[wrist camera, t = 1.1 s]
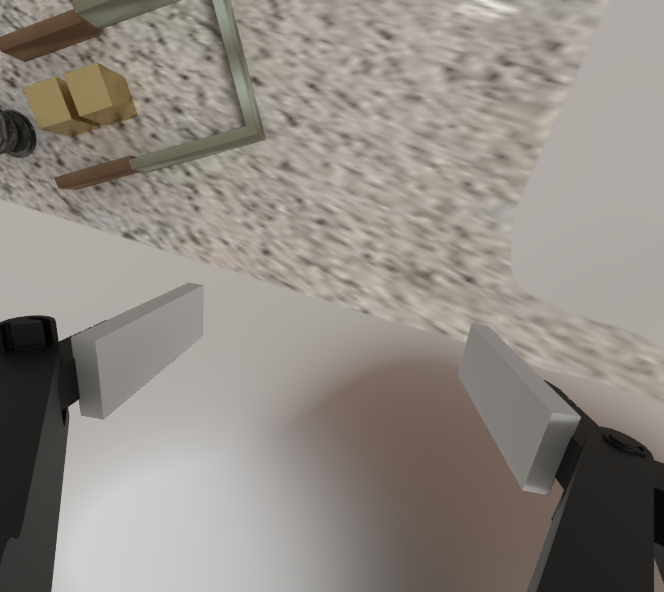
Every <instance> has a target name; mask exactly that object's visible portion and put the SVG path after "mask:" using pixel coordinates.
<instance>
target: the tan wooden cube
mask: <svg viewBox="0 0 664 592" xmlns="http://www.w3.org/2000/svg"><path fill="white" fill-rule="evenodd" d="M23 89H24V92H25V94H26V97H27V99H28V101H29V104H30V106H31V109H32V111H33V113H34V116H35V118H36V121H37V123H38V125H39V128H40V129H42V130H46V131H50V132H54V133H58V134H63V135H67V136H71V137H73V136H76V135H79V134H82V133H86V132H89V131H92V130H95V129H99V128H101V127H100V124H99V122H96V121H92V120H89V119H86V118H83V117H80V116H79V113H78V111H77V108H76V105H75V103H74V100H73V98H72V95H71V92H70V90H69V87H68V85H67V82H66V81H63V80H61V79H59V78H56V77H54V78H51V79H48V80H45V81H42V82H39V83H36V84H33V85H31V86H28V87H25V88H23Z"/></svg>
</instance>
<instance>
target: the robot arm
mask: <svg viewBox="0 0 664 592" xmlns="http://www.w3.org/2000/svg"><path fill="white" fill-rule="evenodd" d="M202 336H203V285H199V284H192V283H187V284H185V285H183V286H181V287H178V288H176V289H174V290H172V291H170V292H168V293H166V294H163V295H161V296H159V297H157V298H155V299H153V300H150V301H148V302H146V303H144V304H141V305H139V306H137V307H135V308H133V309H131V310H128V311H126V312H124V313H122V314H120V315H118V316H115V317H113V318H111V319H109V320H105V321H103V322H101V323H99V324H97V325H95V326H94V327H90V328H88V329H86V330H84V331H81V332H79V333H77V334H75V335H73V336H70V337H68V338H66V339H64V340H62V341H58V334H57V328H56V321H55V319H54V318H52V317H49V316H24V317H17V318H13V319H8V320H5V321H3V322H0V592H51V589H52V579H53V569H54V560H55V550H56V541H57V530H58V521H59V511H60V502H61V492H62V482H63V472H64V464H65V454H66V445H67V435H68V425H69V411H68V406H70V405H71V404H73V403H74V402H76V401H77V400H79V404H80V412H81V416H87V417H93V418H99V419H105V418H106V417H107V416H108V415H109V414H111V413H112V412H113V411H114V410H115V409H116V408H118V407H119V406H120V405H121V404H122V403H124V402H125V401H126V400H127V399H128V398H130V397H131V396H132V395H133V394H134V393H136V392H137V391H138V390H139V389H140V388H141V387H143V386H144V385H145V384H146V383H148V382H149V381H150V380H151V379H152V378H154V377H155V376H156V375H157V374H158V373H160V372H161V371H162V370H163V369H164V368H165V367H167V366H168V365H169V364H170V363H171V362H173V361H174V360H175V359H176V358H177V357H179V356H180V355H181V354H182V353H183V352H185V351H186V350H187V349H188V348H189V347H190V346H192V345H193V344H194V343H195V342H197V341H198V340H199V339H200V338H201V337H202ZM458 376H459V378H460V379H461V381H462V383H463V385H464V387H465V388H466V390H467V392H468V394H469V395H470V397H471V399H472V401H473V402H474V404H475V406H476V408H477V410H478V412H479V413H480V415H481V417H482V419H483V420H484V422H485V424H486V426H487V428H488V429H489V431H490V433H491V435H492V437H493V438H494V440H495V442H496V444H497V445H498V447H499V449H500V451H501V453H502V455H503V456H504V458H505V460H506V462H507V464H508V465H509V467H510V469H511V471H512V473H513V474H514V476H515V478H516V480H517V481H518V483H519V485H520V487H521V489H522V490H524V491H529V492H536V493H542V494H547V495H548V494H549V493H550V490H551V488H552V486H553V483H554V481H555V479H557V480H558V482H559V483H560V485H561V486H562V487H563V489H564V492H563V494H562V497H561V499H560V501H559V503H558V506H557V508H556V510H555V513H554V515H553V517H552V524H551V526H550V529H549V532H548V535H547V538H546V540H545V543H544V546H543V548H542V551H541V554H540V557H539V559H538V562H537V565H536V568H535V571H534V573H533V576H532V579H531V582H530V584H529V587H528V590H527V592H654V558H655V561H656V563H657V566H658V569H659V572H660V574H661V577H662V580H663V582H664V463H661V462H658V461H655V460H654V458H653V456H652V453H651V452H650V451H649V450H648V449H647V448H646V447H645V446H644V445H642V444H641V443H639V442H638V441H636V440H635V439H633V438H631V437H629V436H627V435H625V434H623V433H621V432H618V431H616V430H613V429H610V428H606V427H599V426H598V425H597V424H596V423H595V422H594V421H593V420H592V419H591V418H589V416H587V415H586V414H585V413H584V412H583V411H582V410H581V409H580V408H579V407H577V405H576V404H575V403H574V402H573V401H572V400H570V399H569V398H568V397H567V396H566V395H565V394H564V393H563V392H562V391H561V390H560V389H559V388H557V387H555V386H554V385H552V384H550V383H549V382H547V381H546V380H543V379H542V378H541V377H540V376H539V375H538V374H537V373H536V372H534V371H533V369H531V368H530V367H529V366H528V365H527V364H526V363H525V362H524V361H523V360H522V359H521V358H520V357H519V356H518V355H517V354H516V353H515V352H514V351H513V350H512V349H511V348H510V347H509V346H508V345H507V344H506V343H505V342H504V341H503V340H502V339H501V338H500V337H499V336H498V335H497V334H496V333H495V332H494V331H493V330H491V329H490V328H489V327H488V326H484V325H477V324H471V328H470V332H469V335H468V339H467V343H466V346H465V350H464V354H463V358H462V361H461V365H460V369H459V372H458Z"/></svg>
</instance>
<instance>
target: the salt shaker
mask: <svg viewBox="0 0 664 592" xmlns="http://www.w3.org/2000/svg"><path fill="white" fill-rule="evenodd" d="M35 146H36V135H35V131H34V128H33V126H32V124H31V123H30V121H29V120H28V119H27V118H26V117H25V116H24V115H23V114H21V113H20V112H17V111H14V110H4V111H2V110H1V109H0V154H2V153H8V154H10V155H11V156H14V157H18V158H24V157H27V156H29V155H30V154H31V153H32V152H33V151H34V149H35Z"/></svg>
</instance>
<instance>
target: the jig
mask: <svg viewBox="0 0 664 592" xmlns="http://www.w3.org/2000/svg"><path fill="white" fill-rule="evenodd" d="M177 1H179V0H74V1H71V3H72V5H73V8H74V9H73V10H70V11H68V12H65V13H62V14H60V15H57V16H54V17H52V18H49V19H46V20H44V21H41V22H38V23H36V24H33V25H30V26H28V27H25V28H22V29H20V30H17V31H14V32H12V33H9V34H6V35H4V36H1V37H0V50H1V52H4V53H6V54H8V55H11V56H13V57H15V58H17V59H20V60H22V61H24V62H26V61H29V60H31V59H34V58H37V57H40V56H43V55H45V54H48V53H51V52H54V51H57V50H59V49H62V48H65V47H68V46H71V45H73V44H76V43H79V42H82V41H85V40H87V39H90V38H93V37H96V36H99V35H101V33H100V30H99V29H102V28H105V27H107V26H110V25H113V24H116V23H118V22H121V21H124V20H127V19H130V18H132V17H135V16H138V15H141V14H143V13H146V12H149V11H152V10H154V9H157V8H160V7H163V6H166V5H168V4H171V3H174V2H177ZM212 1H213V5H214V8H215V12H216V16H217V19H218V23H219V27H220V31H221V34H222V38H223V42H224V46H225V49H226V53H227V57H228V61H229V64H230V68H231V72H232V75H233V79H234V83H235V87H236V90H237V94H238V98H239V102H240V105H241V109H242V113H243V117H244V120H245V124H246V126H245V127H241V128H238V129H234V130H231V131H227V132H224V133H220V134H217V135H213V136H210V137H206V138H203V139H199V140H196V141H193V142H189V143H186V144H182V145H179V146H175V147H172V148H168V149H165V150H161V151H158V152H154V153H151V154H147V155H144V156H140V157H132V156H128V157H124V158H121V159H117V160H114V161H111V162H107V163H104V164H100V165H97V166H93V167H90V168H86V169H83V170H79V171H76V172H73V173H69V174H66V175H62V176H59V177H55V181H56V183H57V185H58V188H61V189H81V188H84V187H88V186H91V185H95V184H99V183H102V182H106V181H109V180H113V179H116V178H120V177H124V176H127V175H131V174H134V173H138V172H142V171H145V172H152V171H155V170H159V169H162V168H166V167H170V166H173V165H177V164H180V163H184V162H188V161H191V160H195V159H198V158H202V157H206V156H209V155H213V154H216V153H220V152H224V151H227V150H231V149H234V148H238V147H241V146H245V145H249V144H252V143H256V142H259V141H263V140H266V138H265V134H264V130H263V126H262V122H261V118H260V114H259V111H258V107H257V103H256V99H255V95H254V91H253V87H252V83H251V79H250V75H249V72H248V68H247V64H246V60H245V56H244V52H243V48H242V44H241V40H240V36H239V32H238V29H237V25H236V21H235V17H234V13H233V9H232V5H231V1H230V0H212Z"/></svg>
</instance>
